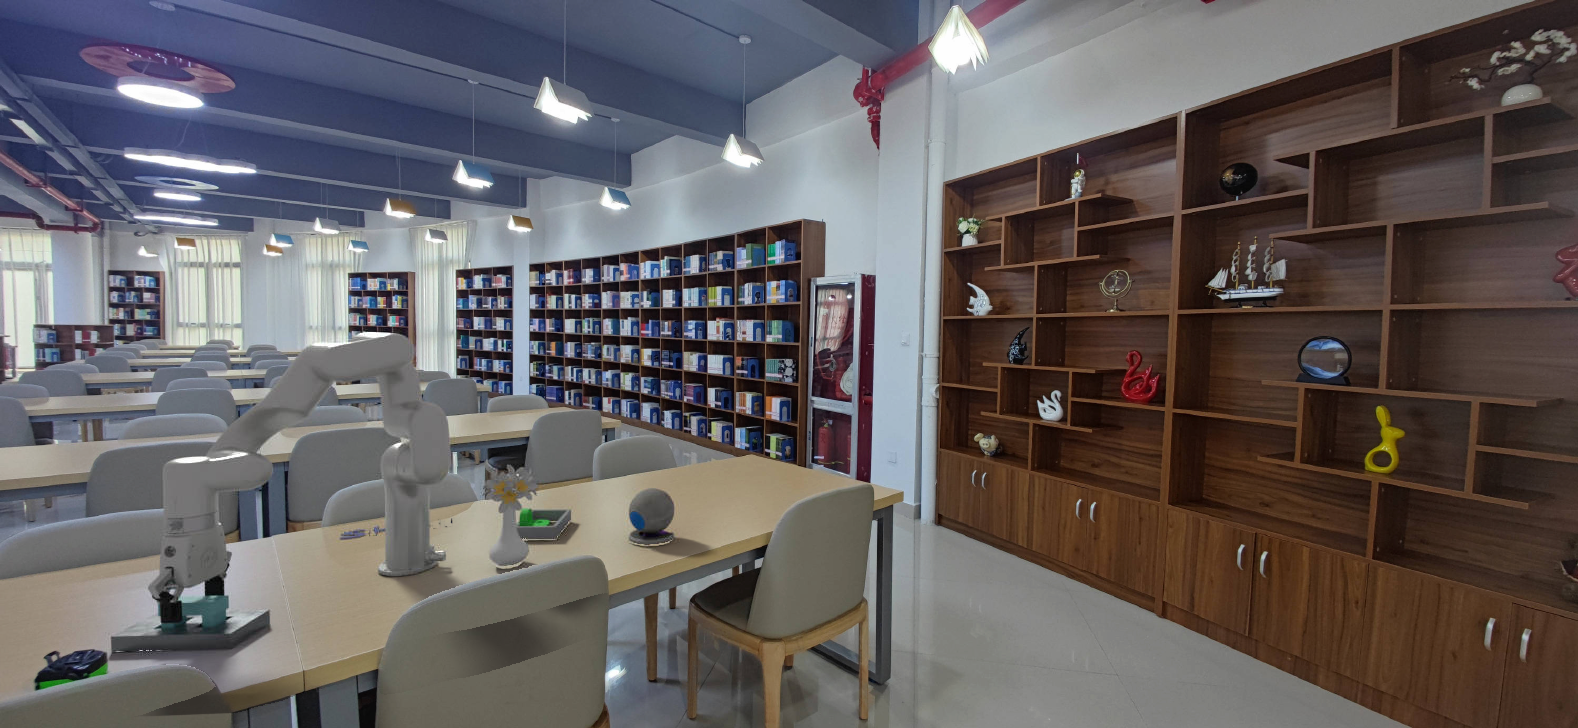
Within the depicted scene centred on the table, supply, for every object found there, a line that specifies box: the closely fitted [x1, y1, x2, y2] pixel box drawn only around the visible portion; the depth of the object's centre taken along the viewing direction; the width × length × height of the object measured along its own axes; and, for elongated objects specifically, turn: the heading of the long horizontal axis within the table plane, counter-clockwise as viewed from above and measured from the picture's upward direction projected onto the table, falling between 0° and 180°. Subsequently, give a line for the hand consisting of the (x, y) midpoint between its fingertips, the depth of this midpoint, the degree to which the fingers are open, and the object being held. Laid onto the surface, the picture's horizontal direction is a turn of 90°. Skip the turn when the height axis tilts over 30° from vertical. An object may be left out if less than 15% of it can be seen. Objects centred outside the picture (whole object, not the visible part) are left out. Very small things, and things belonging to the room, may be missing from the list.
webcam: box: [628, 487, 675, 545], centre depth 181 cm, size 13×13×15 cm
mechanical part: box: [518, 508, 551, 526], centre depth 186 cm, size 12×6×8 cm, turn 6°
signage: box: [339, 527, 385, 540], centre depth 186 cm, size 28×1×10 cm
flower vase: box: [481, 464, 539, 566], centre depth 158 cm, size 13×18×25 cm
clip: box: [157, 594, 230, 629], centre depth 119 cm, size 10×3×8 cm, turn 96°
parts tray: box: [516, 508, 572, 539], centre depth 186 cm, size 12×18×4 cm, turn 6°
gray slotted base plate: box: [110, 609, 271, 653], centre depth 119 cm, size 20×10×3 cm, turn 96°
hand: (194, 610), depth 119 cm, fingers open, 9 cm apart
